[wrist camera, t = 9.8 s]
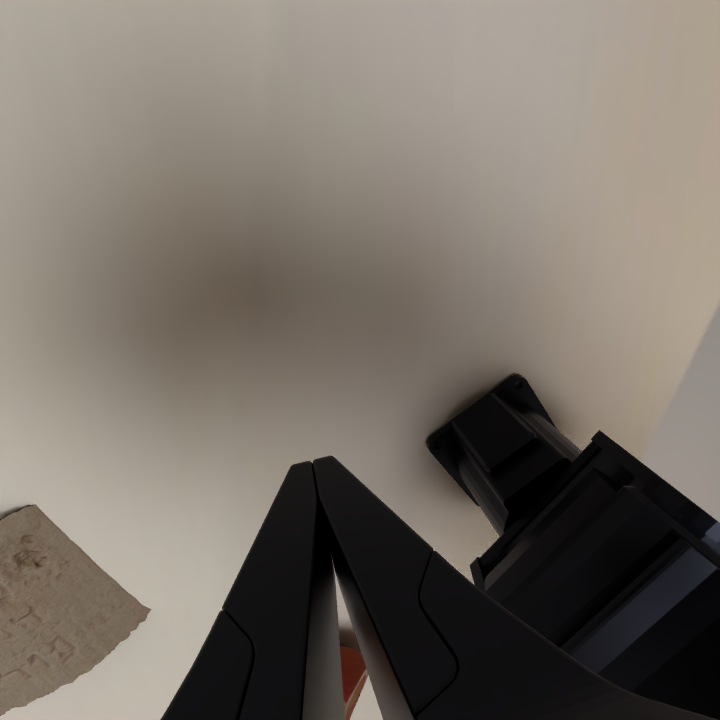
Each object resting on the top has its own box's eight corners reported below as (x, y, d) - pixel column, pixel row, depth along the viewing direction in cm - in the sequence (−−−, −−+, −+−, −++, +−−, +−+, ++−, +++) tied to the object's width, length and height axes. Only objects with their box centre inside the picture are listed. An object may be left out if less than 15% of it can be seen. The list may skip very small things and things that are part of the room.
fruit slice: (349, 695, 32) (363, 778, 28) (259, 701, 31) (258, 793, 26) (377, 618, 30) (398, 697, 25) (280, 620, 28) (284, 707, 23)
